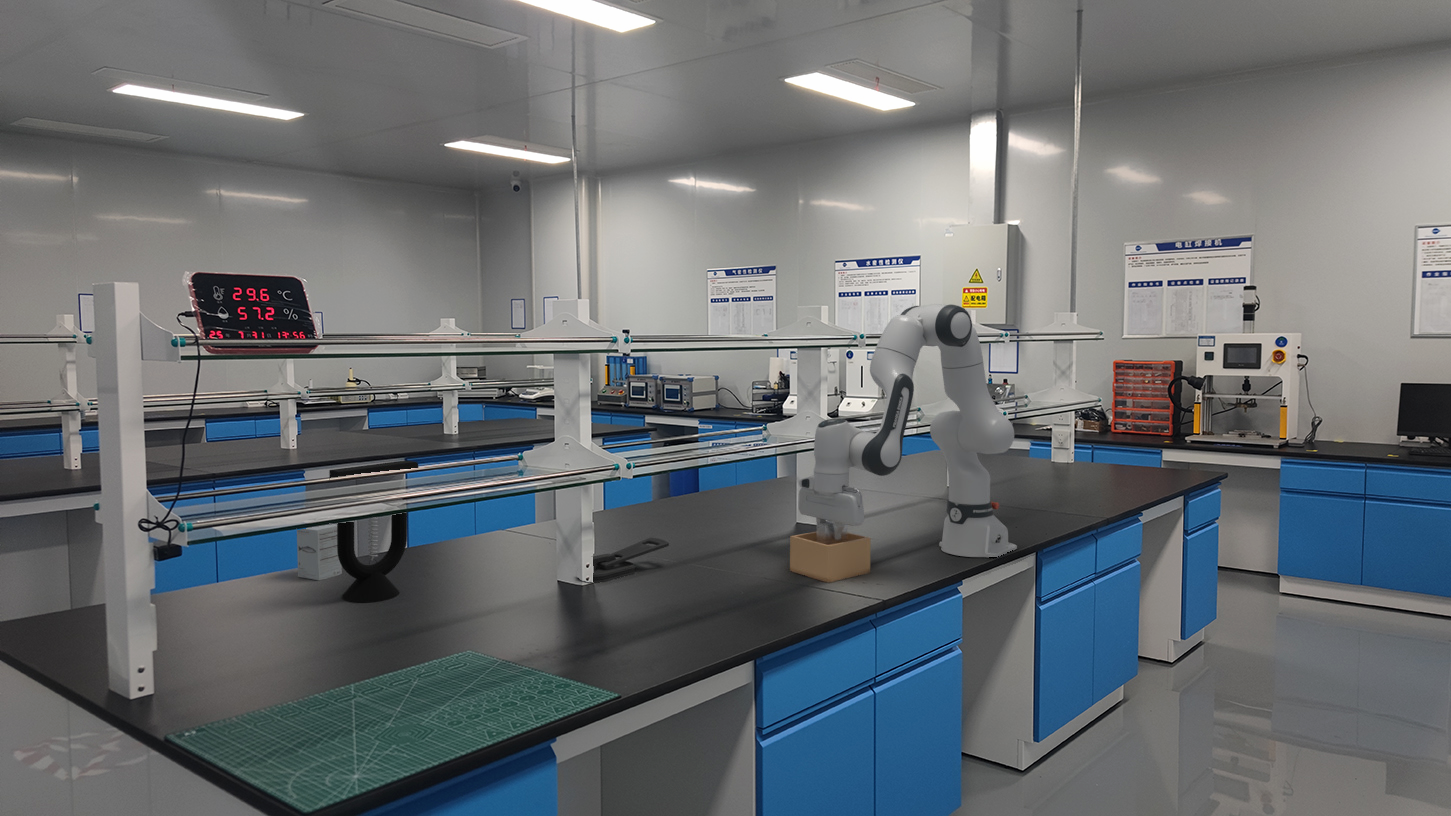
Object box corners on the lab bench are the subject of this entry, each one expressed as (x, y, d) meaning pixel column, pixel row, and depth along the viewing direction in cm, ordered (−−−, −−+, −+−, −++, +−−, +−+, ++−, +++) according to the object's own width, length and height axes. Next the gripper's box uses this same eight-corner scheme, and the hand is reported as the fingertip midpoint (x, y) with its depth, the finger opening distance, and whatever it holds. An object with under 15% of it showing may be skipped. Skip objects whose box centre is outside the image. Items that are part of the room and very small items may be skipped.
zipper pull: (672, 542, 232) (592, 558, 215) (672, 567, 232) (592, 585, 215) (651, 536, 238) (571, 551, 221) (651, 560, 239) (571, 577, 222)
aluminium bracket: (824, 564, 224) (825, 524, 223) (808, 559, 229) (808, 520, 228) (847, 559, 229) (847, 520, 228) (830, 554, 234) (830, 516, 233)
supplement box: (296, 577, 220) (295, 526, 219) (322, 570, 227) (320, 521, 226) (318, 581, 217) (316, 529, 216) (343, 574, 224) (341, 524, 223)
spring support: (352, 609, 195) (348, 472, 192) (318, 600, 201) (314, 467, 199) (430, 587, 212) (427, 461, 210) (396, 579, 219) (393, 457, 216)
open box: (831, 562, 238) (832, 528, 237) (870, 572, 227) (870, 537, 226) (789, 571, 228) (790, 536, 228) (827, 582, 218) (828, 546, 217)
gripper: (870, 487, 220) (869, 543, 221) (812, 477, 236) (811, 529, 237) (852, 490, 216) (851, 546, 217) (794, 479, 232) (793, 532, 233)
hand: (830, 537), depth 227 cm, fingers closed on aluminium bracket, 3 cm apart
